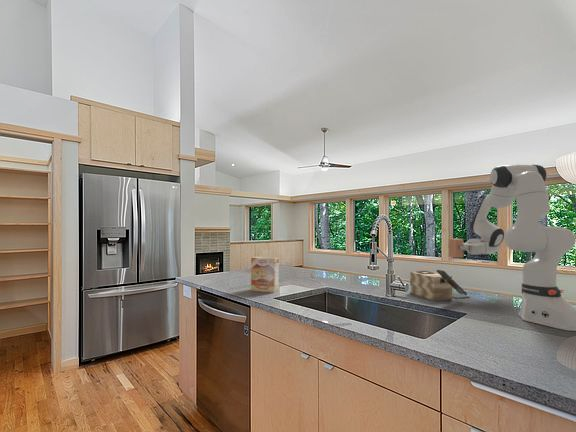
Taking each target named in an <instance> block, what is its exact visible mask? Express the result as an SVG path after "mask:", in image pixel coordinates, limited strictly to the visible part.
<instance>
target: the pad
mask: <svg viewBox="0 0 576 432" xmlns="http://www.w3.org/2000/svg"><path fill="white" fill-rule="evenodd" d="M469 297H470V296H469V295H463V294H459V293H458V292H454V293H453V292H452V299H456V300H457V299H458V298H460V299H469Z"/></svg>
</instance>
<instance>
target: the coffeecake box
mask: <svg viewBox="0 0 576 432" xmlns="http://www.w3.org/2000/svg"><path fill="white" fill-rule="evenodd" d="M279 259H280V258H279V257H273V256H272V257H271V256H252V257H251V259H250V260H251V263H250V291H251V292H261V293H262V292H263V293H273V294H274V293H277V292H278V291H279V279H280V278H279V276H280V275H279V272H280V271H279V269H280V267H279V266H280V263H279Z"/></svg>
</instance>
